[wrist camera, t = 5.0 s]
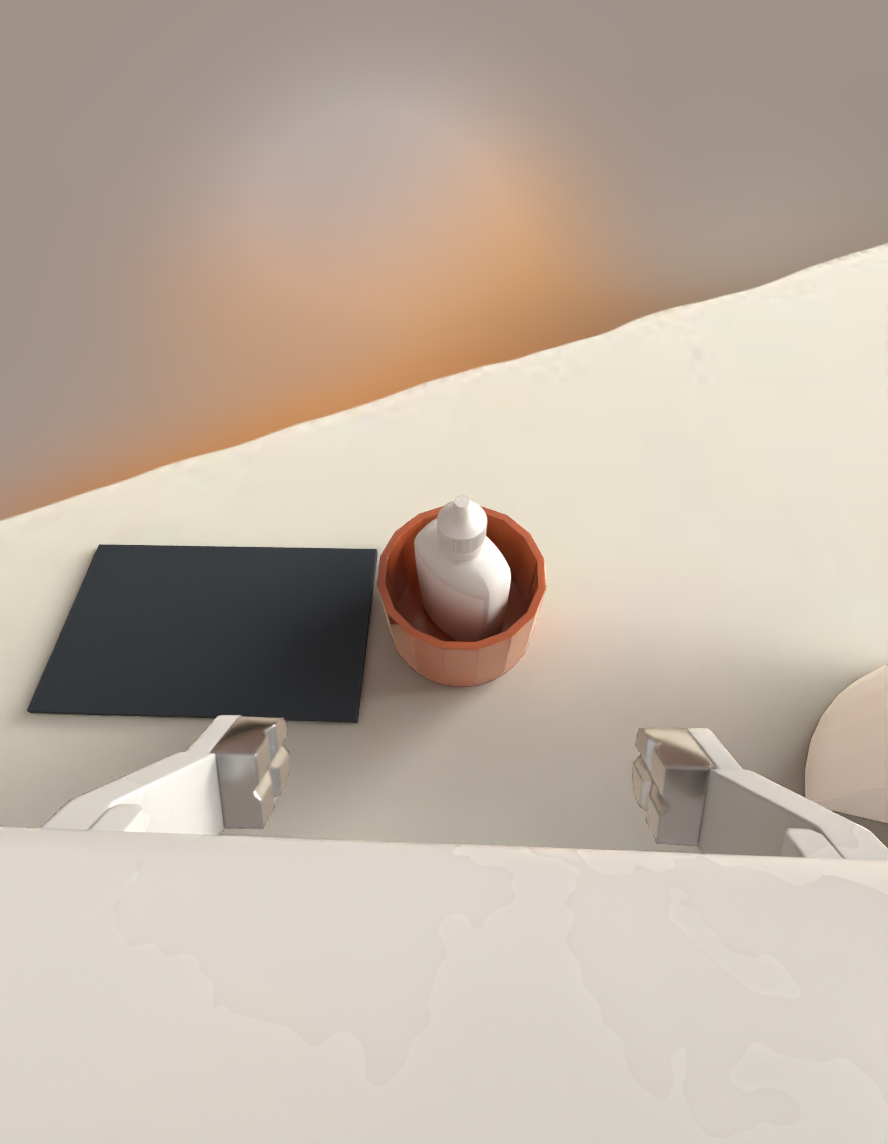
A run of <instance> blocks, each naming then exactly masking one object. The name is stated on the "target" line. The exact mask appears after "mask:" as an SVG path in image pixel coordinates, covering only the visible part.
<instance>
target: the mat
mask: <svg viewBox="0 0 888 1144" xmlns="http://www.w3.org/2000/svg"><path fill="white" fill-rule="evenodd" d="M376 560H377V549H337V548H276V547H215V546H153V545H99V546H98V548H97V551H96V553H95V555H94V557H93V560H92V562H91V564H90V567H89V569H88V571H87V574H86V576H85V578H84V580H83V583H82V585H81V587H80V590H79V592H78V594H77V597H76V599H75V601H74V603H73V606H72V608H71V610H70V613H69V615H68V617H67V620H66V622H65V624H64V627H63V629H62V631H61V633H60V636H59V638H58V640H57V643H56V645H55V647H54V650H53V652H52V654H51V656H50V659H49V661H48V663H47V666H46V668H45V670H44V673H43V675H42V677H41V680H40V682H39V684H38V686H37V689H36V691H35V693H34V696H33V698H32V700H31V703H30V705H29V707H28V709H27V711H28V712H30V713H52V714H86V715H120V716H154V717H189V718H216V717H217V716H220V715H241V716H261V717H282V718H284V719H285V720H291V721H326V722H358V714H359V706H360V697H361V688H362V680H363V671H364V663H365V654H366V646H367V637H368V629H369V620H370V611H371V603H372V594H373V586H374V577H375V569H376Z"/></svg>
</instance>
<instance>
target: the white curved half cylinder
mask: <svg viewBox="0 0 888 1144" xmlns="http://www.w3.org/2000/svg"><path fill="white" fill-rule="evenodd" d="M805 798H807V799H809V800H811V801H813V802H814V803H816V804H818V805H820V806H822V807H824V808H826V809H828V810H832V811H837V812H841V813H845V814H850V815H854V816H858V817H863V818H867V819H871V820H876V821H880V822H885V823H888V664H886V665H884V666H882V667H880V668H879V669H877V670H875V671H873V672H871V673H869V674H867V675H865V676H863V677H861V678H859V679H857V680H856V681H855V682H854V683H852V684H851V685H850V686H848V687H847V688H846V689H845V690H843V691H842V692H841V693H839V694H838V695H837V696H836V698H835V699H834V700H833V702H832V703H831V704H830V705H829V707H828V708H827V709H826V711H825V712H824V713H823V714H822V716H821V718H820V721H819V723H818V725H817V727H816V730H815V732H814V734H813V736H812V739H811V741H810V747H809V752H808V757H807V762H806V767H805Z"/></svg>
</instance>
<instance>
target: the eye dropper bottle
mask: <svg viewBox="0 0 888 1144" xmlns="http://www.w3.org/2000/svg"><path fill="white" fill-rule="evenodd" d="M486 530H487V517H486V514H485V512H484V510H483V509H482V508H481V507H480V506H479V505H478V504H476V503H474V502H471V501H470V500H469V498H468V497H467V496H465V495H459V496H457V497H456V498H455V500H454V501H453V502H450V503H448V504H446V505H445V506H444V507H443V508H442V509H441V510H440V512H439V514H438V516H437V519H435V520H433V521H431V522H430V523H429V524H427V525H426V526H425V527H424V528H423V529H422V530H421V531H420V532H419V533H418V534H417V536H416V538H415V541H414V548H415V559H416V567H417V575H418V582H419V590H420V597H421V602H422V605H423V607H424V609H425V611H426V612H427V614H428V616H429V617H430V618H431V620H432V621H433V622H434V624H435V625H436V626H437V627H438V628H439V629H440V630H441V631H442V632H444V633H445V634H446V635H448V636H449V637H450V638H452V639H454V640H455V641H457V642H478V641H481V640H483V639H486V638H489V637H492V636H495V635H497V634H500V633H501V631H502V629H503V626H504V620H505V614H506V608H507V602H508V596H509V590H510V582H511V573H510V568H509V566H508V564H507V562H506V560H505V558H504V557H503V555H502V554H501V552H500V551H499V550H498V548H497V547H496V546H495V545H494V543H493V542H492V541H491V540H490V539H489V538H488V537H486Z"/></svg>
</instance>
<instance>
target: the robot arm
mask: <svg viewBox="0 0 888 1144" xmlns="http://www.w3.org/2000/svg"><path fill="white" fill-rule="evenodd" d="M287 735H288V733H287V724H286V721H285V719H284V718H282V717H261V716H241V715H220V716H217V717H216V718H215V719H214V720H213V722H212V723H211V724H210V725H209V726H208V727H207V728H206V729H205V730H204V732H203V733H202V734H201V735H200V736H199V737H198V738H197V739H196V741H195V742H194V743H193V744H192V745H191V746H190V747H189V748H188V749H187V751H186V752H178V753H175V754H173V755H171V756H169V757H166V758H164V759H162V760H160V761H157V762H155V763H153V764H151V765H148V766H146V767H144V768H142V769H139V770H137V771H135V772H133V773H130V774H128V775H126V776H123V777H121V778H119V779H117V780H114V781H112V782H110V783H108V784H105V785H103V786H101V787H99V788H96V789H94V790H92V791H90V792H87V793H85V794H83V795H81V796H78V797H76V798H74V799H72V800H69V801H68V802H67V803H66V804H65V805H64V806H63V807H61V808H60V809H59V810H58V811H57V812H56V813H55V814H54V815H53V816H52V817H51V818H49V819H48V820H47V821H46V822H45V823H44V824H43V825H42V826H41V827H40V828H23V827H0V1144H888V848H887V847H886V846H885V845H884V844H883V843H882V842H881V841H880V840H879V839H878V838H877V837H876V836H875V835H874V834H873V833H872V832H871V831H870V830H868V829H866V828H864V827H862V826H860V825H858V824H856V823H854V822H852V821H850V820H848V819H846V818H844V817H842V816H840V815H838V814H836V813H834V812H832V811H830V810H828V809H826V808H824V807H822V806H820V805H818V804H816V803H814V802H813V801H811V800H809V799H807V798H805V797H803V796H801V795H799V794H797V793H795V792H793V791H791V790H789V789H787V788H785V787H783V786H781V785H779V784H777V783H775V782H773V781H771V780H769V779H767V778H765V777H763V776H761V775H759V774H757V773H755V772H753V771H751V770H743V769H742V768H741V767H740V765H739V764H738V763H737V762H736V761H735V759H734V758H733V757H732V756H731V754H730V753H729V752H728V751H727V750H726V748H725V747H724V746H723V745H722V743H721V742H720V741H719V740H718V739H717V737H716V736H715V735H714V734H713V733H712V731H711V730H709V729H707V728H639V729H638V732H637V735H636V743H635V746H636V748H637V750H638V752H639V753H640V756H639V757H638V758H637V759H636V760H635V761H634V762H633V773H632V779H633V789H634V793H635V797H636V800H637V802H638V804H639V806H640V807H641V808H643V809H644V810H645V811H647V815H646V822H647V824H648V826H649V829H650V831H651V833H652V835H653V837H654V839H655V841H656V844H670V845H686V846H699V847H698V848H699V849H700V850H701V851H702V852H703V853H705V854H702V853H676V852H649V851H623V850H597V849H571V848H544V847H518V846H492V845H466V844H440V843H414V842H388V841H362V840H336V839H310V838H284V837H258V836H232V835H219V834H220V833H221V832H223V831H224V828H237V829H263V828H264V826H265V825H266V823H267V821H268V819H269V817H270V815H271V813H272V811H273V809H274V808H275V806H274V798H276V797H277V796H279V795H280V794H282V792H283V790H284V788H285V786H286V783H287V779H288V775H289V765H290V758H289V751H288V750H287V749H286V748H285V746H284V745H283V742H284V740H285V739H286V737H287Z"/></svg>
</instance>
